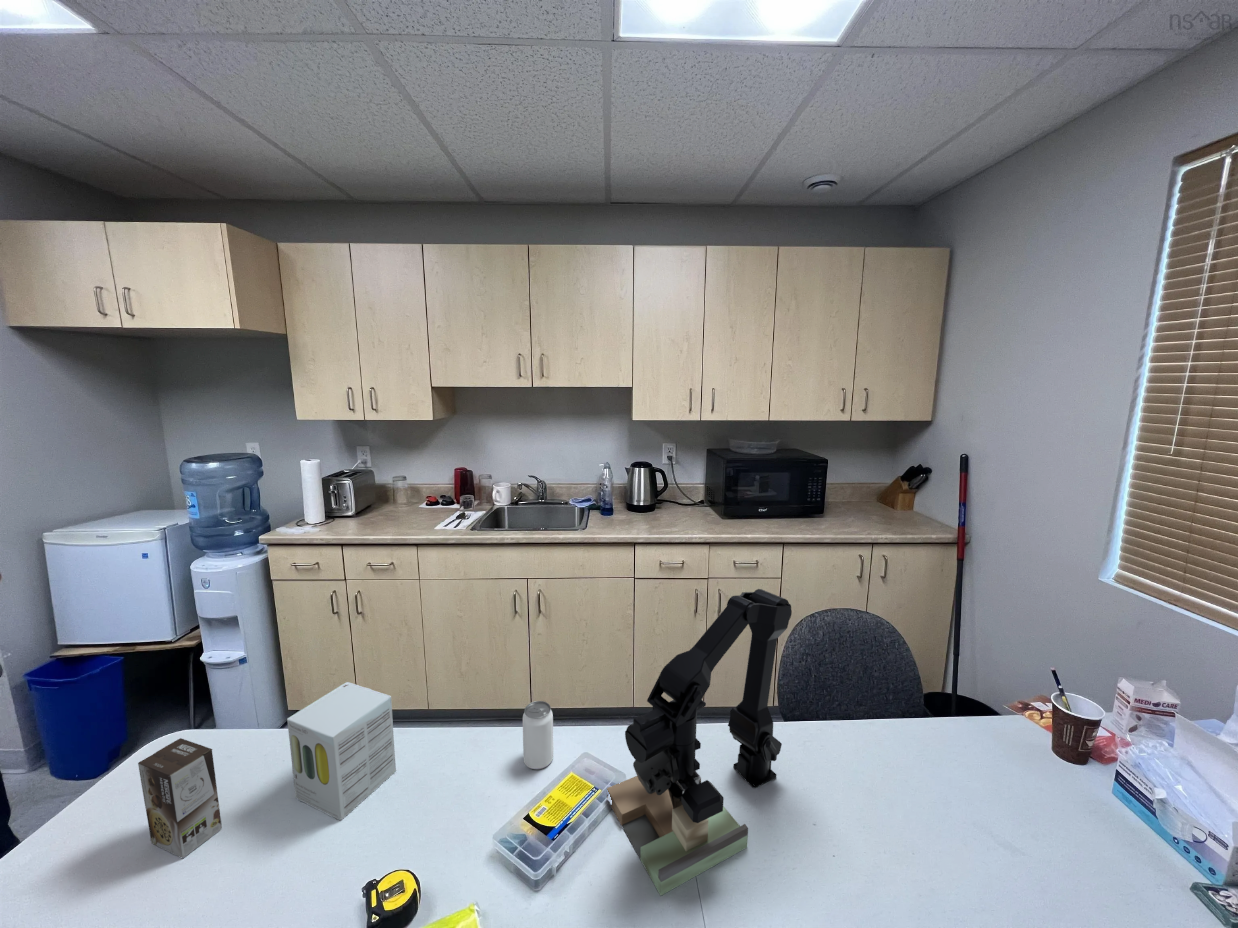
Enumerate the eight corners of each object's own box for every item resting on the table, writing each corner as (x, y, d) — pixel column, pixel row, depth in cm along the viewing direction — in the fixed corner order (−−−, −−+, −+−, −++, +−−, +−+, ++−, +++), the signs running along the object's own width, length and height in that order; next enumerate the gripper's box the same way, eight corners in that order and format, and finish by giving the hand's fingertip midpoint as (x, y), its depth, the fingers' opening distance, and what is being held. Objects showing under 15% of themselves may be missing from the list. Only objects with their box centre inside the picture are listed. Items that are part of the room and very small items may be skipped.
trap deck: (606, 799, 91) (606, 781, 91) (682, 767, 99) (682, 750, 99) (660, 895, 74) (661, 873, 73) (747, 847, 82) (748, 827, 81)
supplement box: (292, 799, 91) (284, 718, 88) (353, 752, 103) (347, 679, 101) (340, 822, 86) (332, 737, 84) (397, 770, 98) (392, 694, 96)
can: (547, 772, 98) (546, 721, 96) (518, 767, 99) (517, 716, 97) (557, 750, 104) (556, 701, 102) (530, 745, 105) (529, 697, 104)
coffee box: (224, 827, 85) (214, 748, 83) (181, 860, 79) (169, 775, 77) (192, 812, 88) (181, 735, 85) (148, 843, 82) (136, 761, 79)
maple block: (692, 819, 84) (693, 799, 84) (707, 840, 80) (708, 820, 80) (671, 828, 82) (672, 809, 82) (686, 851, 78) (686, 830, 78)
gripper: (616, 715, 87) (615, 788, 90) (670, 790, 71) (667, 877, 73) (666, 698, 92) (664, 768, 94) (727, 765, 76) (723, 848, 78)
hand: (677, 810), depth 85 cm, fingers closed
